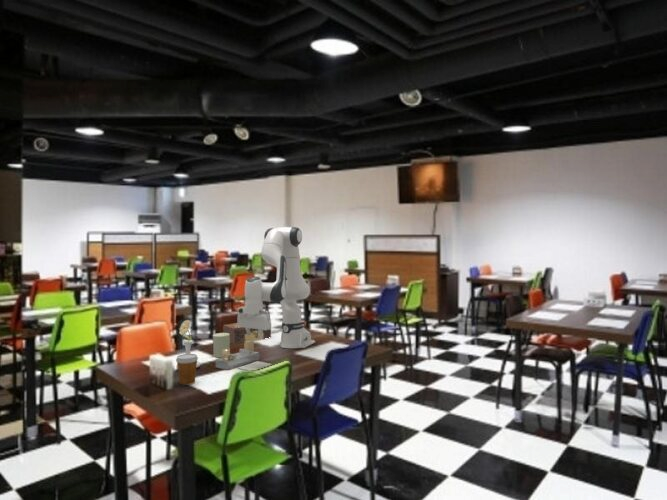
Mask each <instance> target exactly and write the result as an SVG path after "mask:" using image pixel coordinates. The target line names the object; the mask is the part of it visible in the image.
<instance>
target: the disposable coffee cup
mask: <svg viewBox="0 0 667 500" xmlns="http://www.w3.org/2000/svg"><path fill="white" fill-rule="evenodd" d="M198 359H199V357H198V355H197V354H196V353H191V354H186V353H183V354H179V355H177V356H176V359H175V361H176V363H177V364H176V366H177V365H178V368H177V371H178V377H179V384H180V385H185V386H187V385H192V384H194V383H195V382H196V373H197V368H196V365H197V360H198Z"/></svg>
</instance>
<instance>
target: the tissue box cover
mask: <svg viewBox="0 0 667 500" xmlns="http://www.w3.org/2000/svg"><path fill="white" fill-rule="evenodd" d="M222 328H223V329H222V330H223V331H222V333H229V334H230V344H232V345H239V344H244V342H245V334H247V332H246V328H245V327H239V326H238V324H237V322H236V323H229V324H223V327H222ZM253 331H258V329H251V328H250V332H251V333H252V332H253ZM271 331H272V328H271V329H270V330H266V331H265V330H263V332H262V333H263V339H262V340H266V339H265V338H268V339H270V338H269V337H271V338H272V334H271ZM262 340H261V339H260V340H259V341H262Z"/></svg>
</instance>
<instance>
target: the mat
mask: <svg viewBox="0 0 667 500" xmlns="http://www.w3.org/2000/svg"><path fill="white" fill-rule="evenodd" d="M270 365H271V366H273V364H272V363H269V362H263V361H260V360H257V361H254V362H251V363H248V364H245V365H242V366H239V367H237V370H241V371H246V372H248V371H247V370H257V369H260V370H262V369H261V368H263V369H265V368H268V367H270ZM267 366H268V367H267ZM264 367H265V368H264ZM257 371H258V370H257Z"/></svg>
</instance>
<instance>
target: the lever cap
mask: <svg viewBox="0 0 667 500" xmlns="http://www.w3.org/2000/svg"><path fill="white" fill-rule="evenodd" d="M258 333H259V332H258V331H253V332H252V333H249V334H245V341H251V342H253V341H254V342H256V341H261V340H260V339H262V340H264V339H263V333H262V334H261V338H257V335H258Z"/></svg>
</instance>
